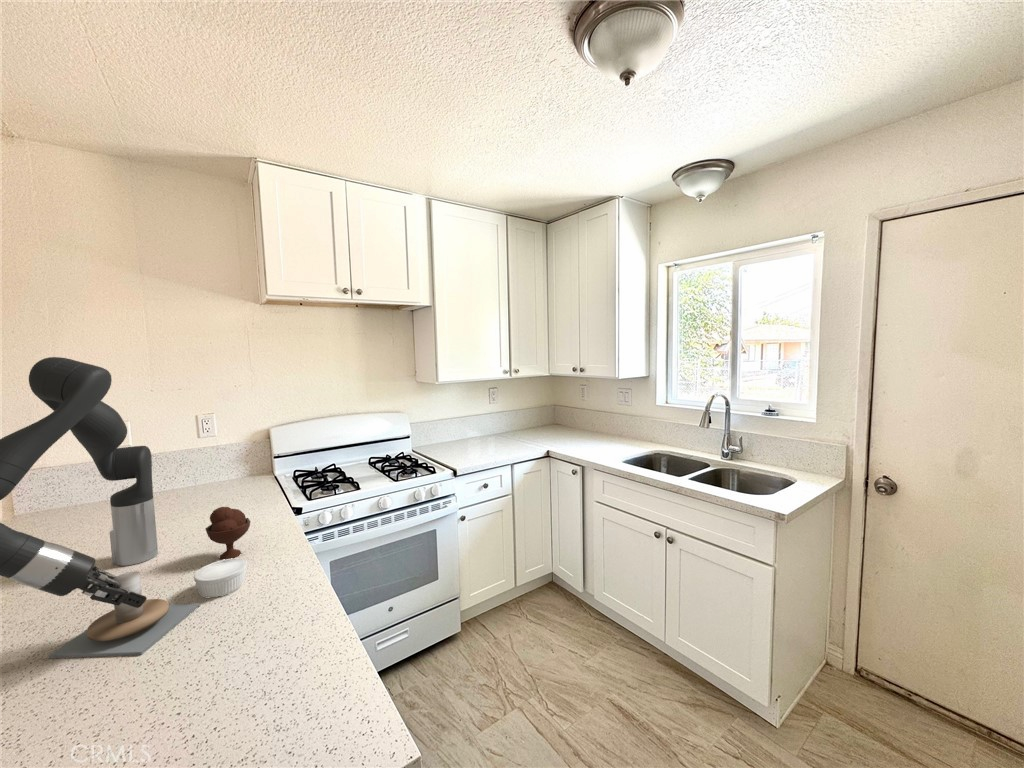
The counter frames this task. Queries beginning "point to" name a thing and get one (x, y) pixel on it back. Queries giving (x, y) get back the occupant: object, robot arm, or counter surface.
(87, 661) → the counter surface
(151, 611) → the lid
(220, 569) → the ramekin
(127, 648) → the mat
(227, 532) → the ice cream bowl
